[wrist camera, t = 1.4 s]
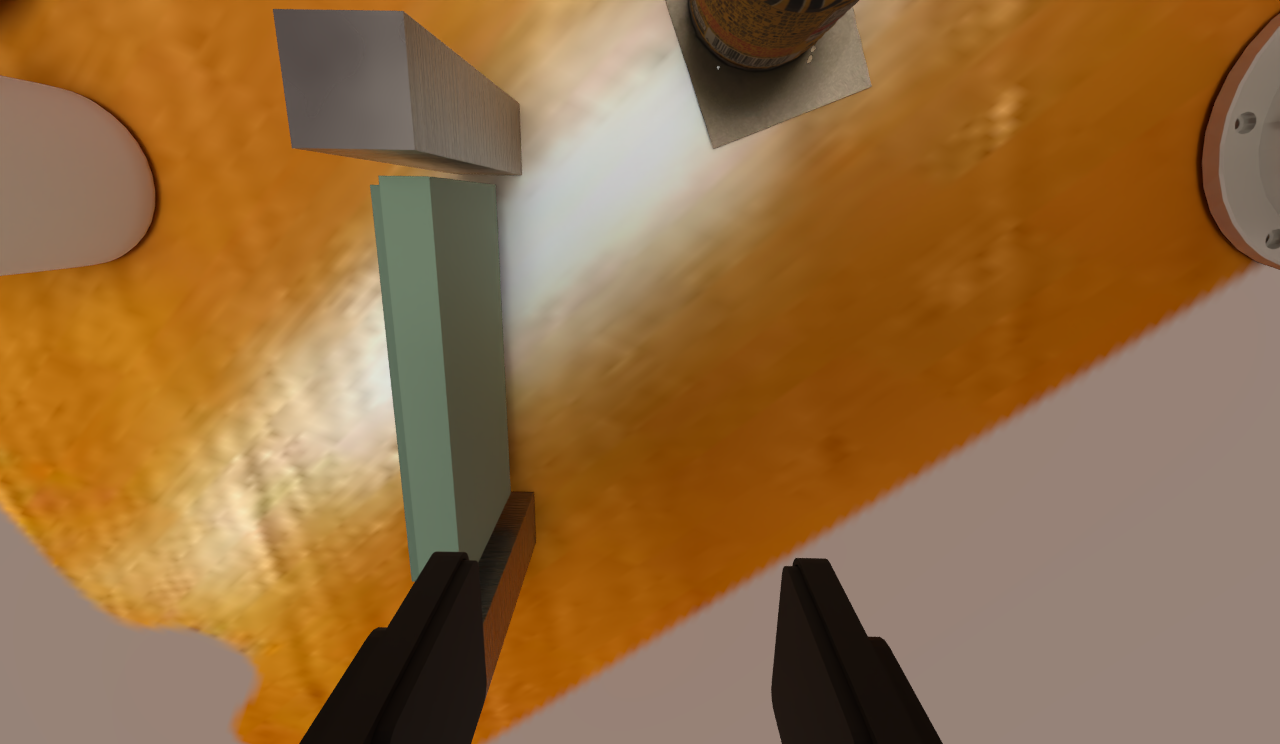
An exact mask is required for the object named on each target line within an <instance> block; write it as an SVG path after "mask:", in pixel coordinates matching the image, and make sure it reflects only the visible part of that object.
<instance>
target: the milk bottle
mask: <svg viewBox="0 0 1280 744" xmlns="http://www.w3.org/2000/svg"><path fill="white" fill-rule="evenodd" d="M154 209H155V187H154V182H153V175H152V172H151V170H150V167H149V164H148V161H147V158H146V157H145V155H144V153H143V152H142V150H141V148H140V146H139V144H138V142H137V141H136V140H135V139H134V137H133V136H132V135H131V134H130V132H129V131H128V130H127V128H126V127H125V126H124V125H122V124H121V123H120V122H119V121H118V120H117V119H116V118H115V117H114V116H113V115H112V114H110V113H109V112H107V111H106V110H105V109H103V108H102V107H100V106H99V105H98V104H96V103H94V102H93V101H91V100H89V99H88V98H86V97H84V96H82V95H79V94H77V93H74V92H72V91H68V90H65V89H61V88H57V87H53V86H48V85H44V84H40V83H35V82H30V81H25V80H20V79H15V78H10V77H5V76H0V276H2V275H11V274H21V273H30V272H39V271H47V270H56V269H65V268H74V267H82V266H89V265H95V264H101V263H106V262H109V261H112V260H115V259H117V258H119V257H121V256H122V255H124V254H126V253H127V252H128V251H130V250H131V249H132V248H133V247H135V246H136V245H137V244H138V243H139V241H140V240H141V239H142V238H143V237H144V235H145V234H146V232H147V230H148V228H149V226H150V224H151V222H152V218H153V213H154Z"/></svg>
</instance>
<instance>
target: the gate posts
mask: <svg viewBox="0 0 1280 744" xmlns="http://www.w3.org/2000/svg"><path fill="white" fill-rule="evenodd" d="M273 13H274V20H275V28H276V35H277V42H278V49H279V57H280V64H281V71H282V78H283V86H284V93H285V100H286V107H287V115H288V122H289V129H290V136H291V143H292V148H295V149H301V150H307V151H314V152H320V153H326V154H333V155H339V156H345V157H352V158H358V159H364V160H371V161H377V162H383V163H390V164H396V165H402V166H409V167H415V168H421V169H427V170H434V171H440V172H446V173H453V174H484V175H522V163H521V137H520V111H519V103H518V102H516V101H515V100H514V99H513V98H511V97H510V96H509V95H508V94H506V93H505V92H504V91H503V90H501V89H500V88H499V87H498V86H496V85H495V84H494V83H493V82H491V81H490V80H489V79H488V78H486V77H485V76H484V75H483V74H481V73H480V72H479V71H478V70H476V69H475V68H474V67H473V66H471V65H470V64H469V63H468V62H466V61H465V60H464V59H463V58H461V57H460V56H459V55H457V54H456V53H455V52H454V51H452V50H451V49H450V48H449V47H447V46H446V45H445V44H444V43H442V42H441V41H440V40H439V39H437V38H436V37H435V36H434V35H432V34H431V33H430V32H429V31H427V30H426V29H425V28H424V27H422V26H421V25H420V24H419V23H417V22H416V21H415V20H414V19H412V18H411V17H410V16H409V15H407V14H406V13H405V12H404V11H363V10H294V9H273ZM535 543H536V532H535V506H534V492H511V493H510V496H509V498H508V500H507V502H506V504H505V506H504V508H503V511H502V513H501V515H500V517H499V519H498V521H497V523H496V526H495V528H494V530H493V532H492V534H491V536H490V539H489V541H488V543H487V545H486V547H485V549H484V551H483V554H482V556H481V558H480V560H479V562H478V565H479V576H480V591H481V605H482V620H483V634H484V649H485V663H486V678H487V686H486V695H487V692H488V689H489V686H490V683H491V680H492V676H493V673H494V670H495V667H496V664H497V661H498V658H499V655H500V652H501V649H502V645H503V642H504V639H505V636H506V633H507V630H508V627H509V624H510V621H511V618H512V614H513V611H514V608H515V605H516V602H517V599H518V596H519V593H520V590H521V587H522V584H523V580H524V577H525V574H526V571H527V568H528V565H529V562H530V559H531V556H532V553H533V549H534V546H535ZM485 698H486V696H485Z"/></svg>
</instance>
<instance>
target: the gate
mask: <svg viewBox="0 0 1280 744" xmlns="http://www.w3.org/2000/svg"><path fill="white" fill-rule="evenodd" d="M370 188H371V198H372V207H373V217H374V226H375V236H376V245H377V255H378V264H379V273H380V283H381V292H382V302H383V311H384V321H385V330H386V340H387V349H388V359H389V368H390V377H391V387H392V396H393V406H394V415H395V425H396V434H397V444H398V453H399V463H400V472H401V482H402V491H403V500H404V510H405V519H406V529H407V538H408V548H409V557H410V567H411V576H412V581H416V580H417V578H418V576H419V575H420V573H421V571H422V570H423V568H424V566H425V565H426V563H427V562H428V560H429V558H430V557H431V555H432V554H433V553H434V552H436V551H439V552H466V553H467V554H468V557H469V560H476V561H477V562H479V560H480V558H481V556H482V554H483V551H484V549H485V547H486V545H487V543H488V541H489V539H490V536H491V534H492V532H493V530H494V528H495V526H496V523H497V521H498V519H499V517H500V515H501V513H502V511H503V508H504V506H505V504H506V502H507V500H508V498H509V496H510V493H511V487H510V467H509V447H508V427H507V407H506V387H505V367H504V347H503V327H502V307H501V287H500V267H499V247H498V227H497V207H496V187H495V185H492V184H484V183H476V182H468V181H460V180H452V179H445V178H437V177H426V176H379V185H370Z"/></svg>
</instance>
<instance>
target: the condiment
mask: <svg viewBox="0 0 1280 744" xmlns="http://www.w3.org/2000/svg"><path fill="white" fill-rule="evenodd" d="M858 1H859V0H666V3H667V6H668V10H669V13H670V16H671V19H672V22H673V25H674V28H675V31H676V34H677V38H678V41H679V44H680V47H681V49H682V53H683V56H684V59H685V62H686V64H687V67H688V70H689V73H690V77H691V80H692V84H693V87H694V90H695V93H696V96H697V99H698V103H699V106H700V109H701V112H702V115H703V117H704V120H705V123H706V126H707V129H708V133H709V136H710V139H711V142H712V145H713V148H717V147H719V146H722V145H725V144H727V143H729V142H732V141H735V140H737V139H740V138H742V137H745V136H748V135H750V134H753V133H755V132H758V131H760V130H762V129H765V128H768V127H771V126H773V125H775V124H778V123H781V122H783V121H786V120H788V119H791V118H793V117H796V116H798V115H801V114H802V113H807V112H809V111H811V110H814V109H816V108H819V107H821V106H824V105H826V104H829V103H831V102H834V101H836V100H839V99H841V98H844V97H846V96H849V95H851V94H854V93H857V92H859V91H862V90H864V89H867V88H869V87H871V81H870V77H869V73H868V68H867V64H866V60H865V57H864V53H863V49H862V43H861V38H860V35H859V32H858V29H857V25H856V20H855V15H854V10H853V8H852V7H853V6H854V5H855V4H856V3H857V2H858ZM812 46H816V49H815V50H814V52H811V48H812ZM810 55H812V56H813V57H812V61H811V62H810V63H807V60H808V57H809V56H810ZM717 66H720V68H719V70H718V69H717Z"/></svg>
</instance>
